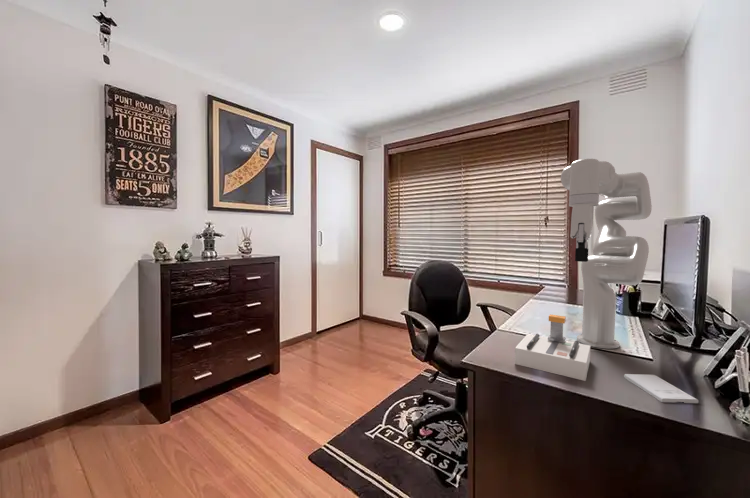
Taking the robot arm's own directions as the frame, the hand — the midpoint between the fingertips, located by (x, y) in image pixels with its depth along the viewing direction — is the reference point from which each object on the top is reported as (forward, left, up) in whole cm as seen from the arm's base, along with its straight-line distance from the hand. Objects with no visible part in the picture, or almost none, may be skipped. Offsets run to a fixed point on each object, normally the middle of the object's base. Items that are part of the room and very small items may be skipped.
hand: (581, 261), depth 97 cm
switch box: (+7, -6, -31) cm, 32 cm away
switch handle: (+1, -6, -26) cm, 27 cm away
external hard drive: (+9, +18, -32) cm, 38 cm away
